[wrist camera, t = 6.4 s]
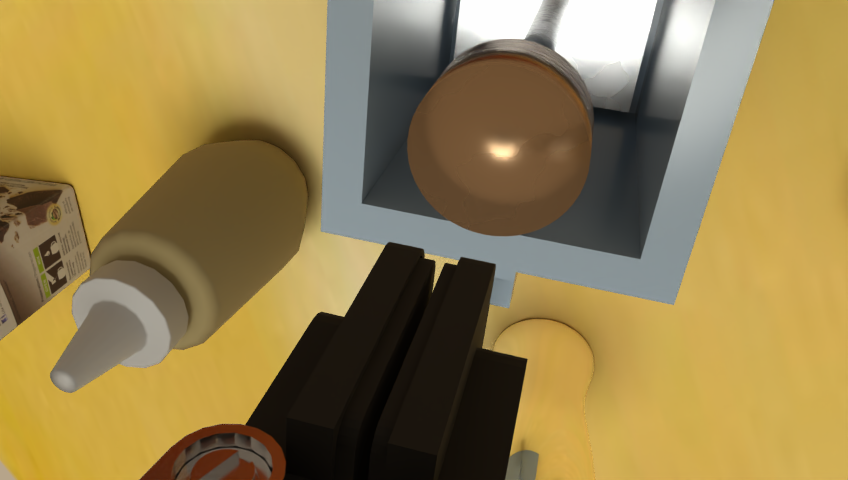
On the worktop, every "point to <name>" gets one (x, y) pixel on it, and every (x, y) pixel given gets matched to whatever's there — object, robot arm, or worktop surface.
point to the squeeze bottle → (185, 258)
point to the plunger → (523, 108)
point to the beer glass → (550, 402)
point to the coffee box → (37, 246)
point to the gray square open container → (610, 154)
